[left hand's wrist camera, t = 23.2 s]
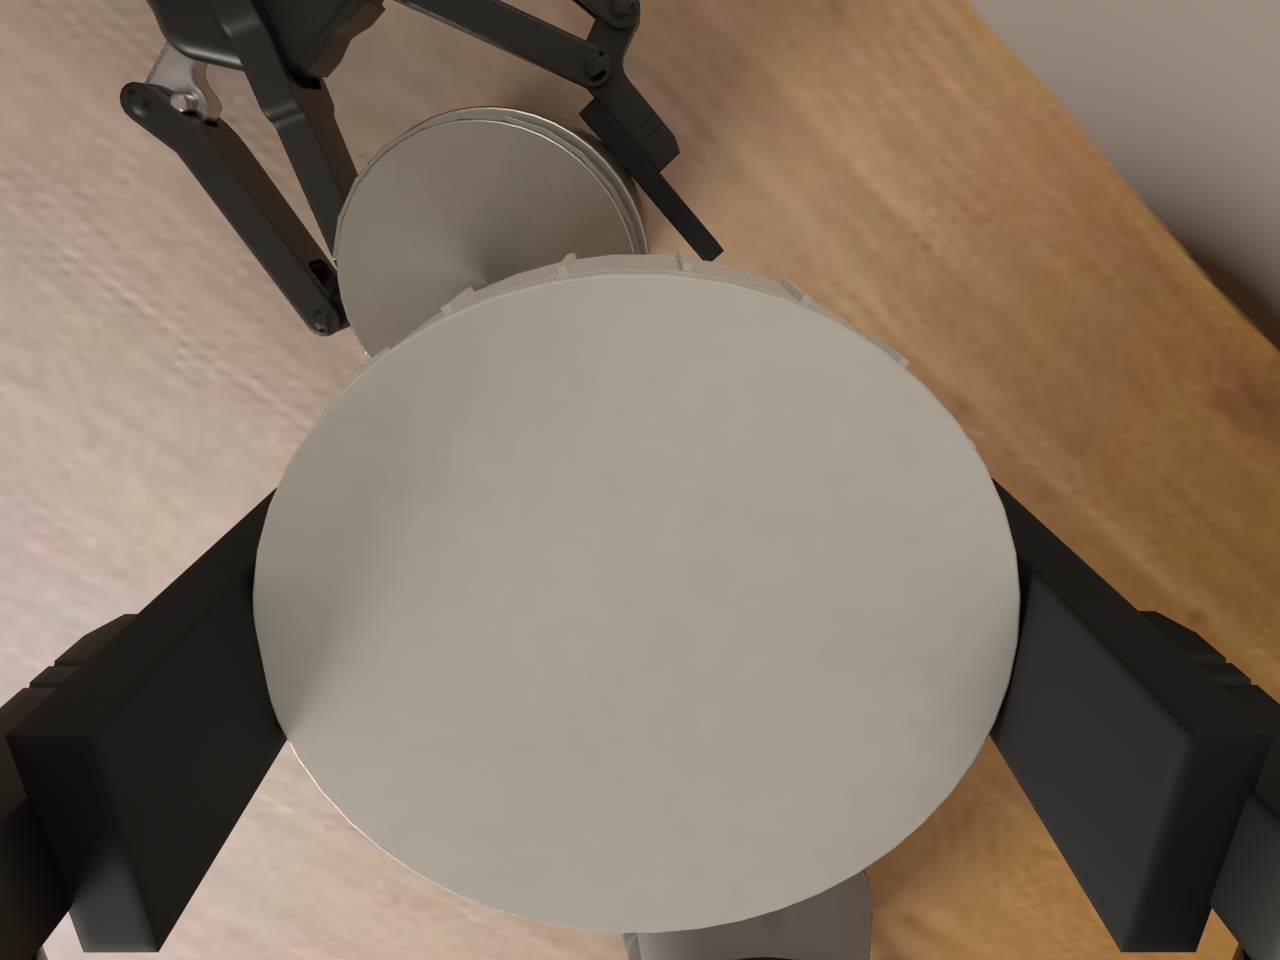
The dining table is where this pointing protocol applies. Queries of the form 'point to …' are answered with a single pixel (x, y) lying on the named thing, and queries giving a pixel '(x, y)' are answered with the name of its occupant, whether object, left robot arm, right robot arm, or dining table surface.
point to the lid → (636, 597)
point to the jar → (476, 214)
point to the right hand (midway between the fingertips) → (619, 336)
